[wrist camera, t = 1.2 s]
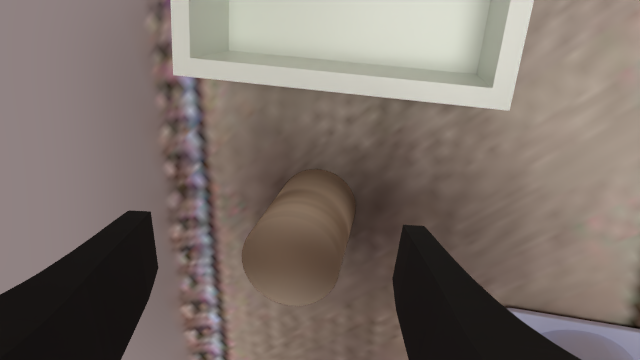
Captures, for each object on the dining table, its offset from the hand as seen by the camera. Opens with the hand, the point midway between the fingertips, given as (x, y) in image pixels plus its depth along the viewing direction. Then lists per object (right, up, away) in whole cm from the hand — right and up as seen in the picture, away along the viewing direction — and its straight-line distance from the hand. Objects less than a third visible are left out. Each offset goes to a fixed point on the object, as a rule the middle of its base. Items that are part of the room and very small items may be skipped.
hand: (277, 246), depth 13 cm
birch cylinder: (+1, +1, +11) cm, 11 cm away
